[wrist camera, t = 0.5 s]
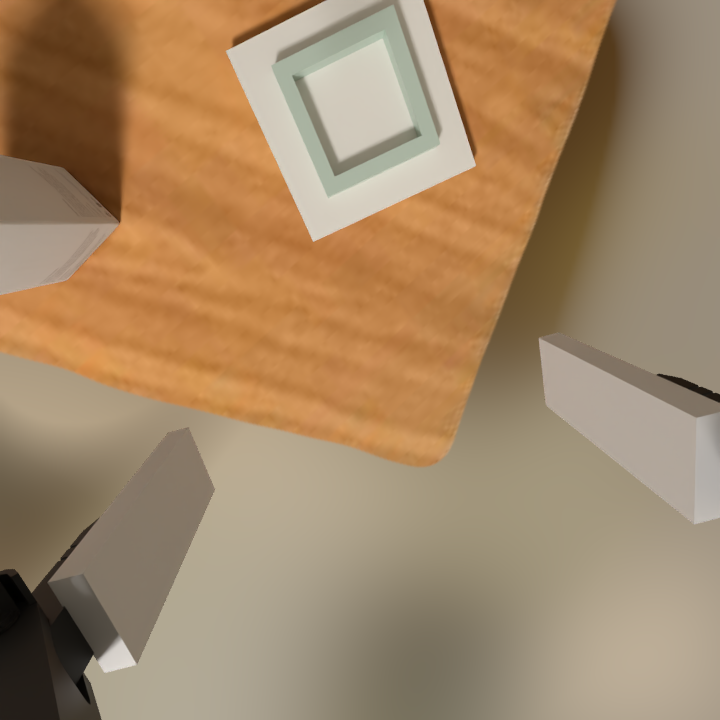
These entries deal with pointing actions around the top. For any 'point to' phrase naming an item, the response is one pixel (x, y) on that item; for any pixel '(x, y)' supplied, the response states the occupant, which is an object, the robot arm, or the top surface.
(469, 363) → the top surface
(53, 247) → the skincare box
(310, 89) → the collar plate
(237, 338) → the top surface
